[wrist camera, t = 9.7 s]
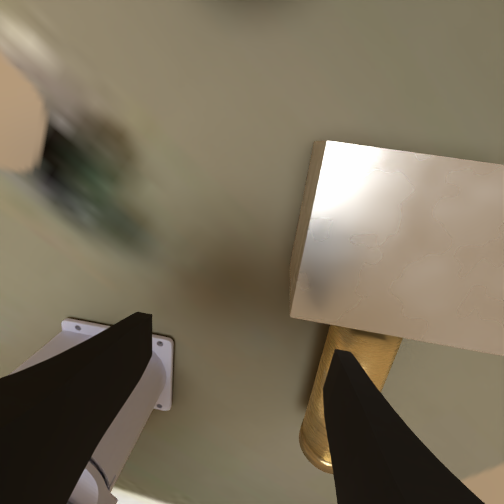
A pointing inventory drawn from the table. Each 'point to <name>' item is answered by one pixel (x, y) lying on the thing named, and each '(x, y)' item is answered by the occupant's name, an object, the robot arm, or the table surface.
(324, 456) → the amber cylinder
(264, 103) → the table surface
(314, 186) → the housing
